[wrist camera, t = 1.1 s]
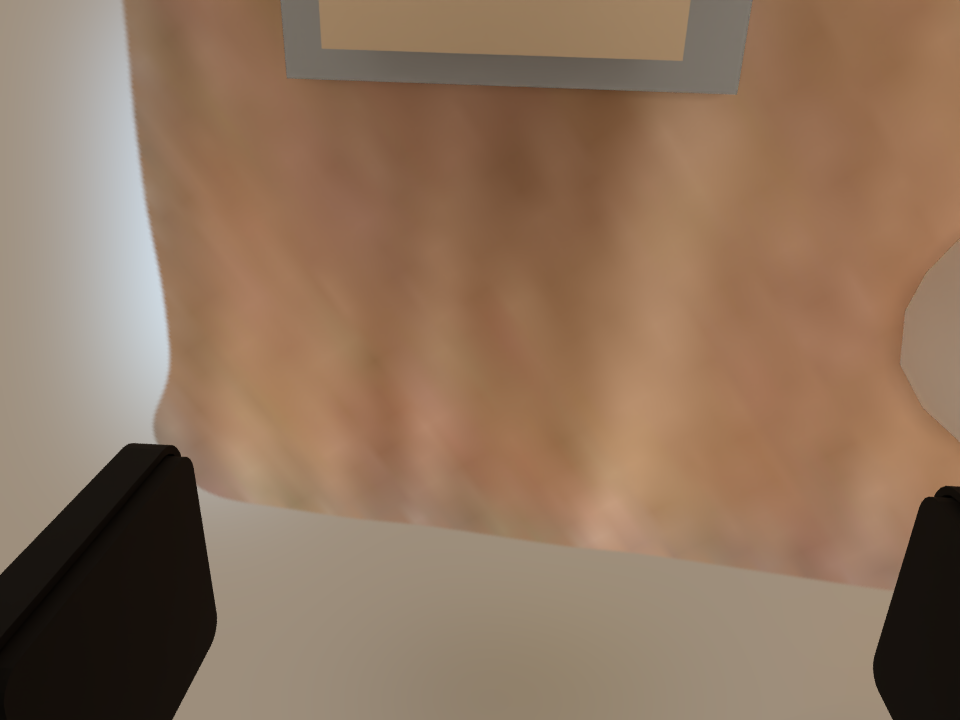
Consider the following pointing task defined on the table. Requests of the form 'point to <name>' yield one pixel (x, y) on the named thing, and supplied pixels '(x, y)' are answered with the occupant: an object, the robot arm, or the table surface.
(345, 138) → the table surface
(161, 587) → the robot arm
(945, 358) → the teardrop
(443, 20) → the carton
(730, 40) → the grey and cream slab
